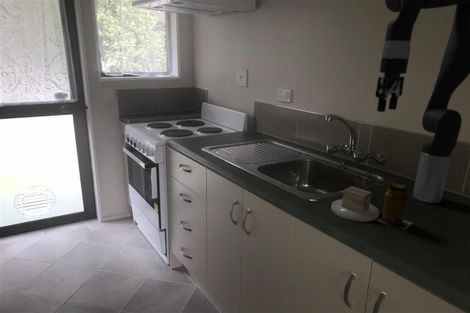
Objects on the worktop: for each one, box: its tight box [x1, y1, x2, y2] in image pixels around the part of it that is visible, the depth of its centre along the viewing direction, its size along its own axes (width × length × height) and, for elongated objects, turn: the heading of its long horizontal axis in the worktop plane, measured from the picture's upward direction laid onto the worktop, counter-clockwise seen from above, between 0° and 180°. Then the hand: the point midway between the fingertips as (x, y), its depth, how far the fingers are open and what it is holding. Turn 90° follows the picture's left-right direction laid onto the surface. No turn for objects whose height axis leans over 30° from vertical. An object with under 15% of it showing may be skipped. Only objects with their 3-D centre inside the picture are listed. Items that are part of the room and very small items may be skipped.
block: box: [342, 186, 372, 214], centre depth 113 cm, size 5×7×6 cm
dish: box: [330, 198, 380, 223], centre depth 114 cm, size 15×15×1 cm
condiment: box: [376, 182, 413, 231], centre depth 105 cm, size 7×8×12 cm
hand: (386, 110), depth 109 cm, fingers open, 8 cm apart
